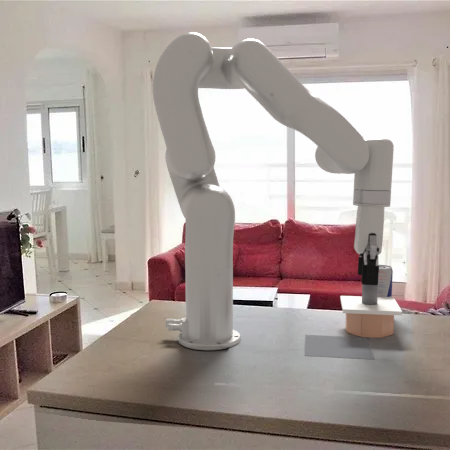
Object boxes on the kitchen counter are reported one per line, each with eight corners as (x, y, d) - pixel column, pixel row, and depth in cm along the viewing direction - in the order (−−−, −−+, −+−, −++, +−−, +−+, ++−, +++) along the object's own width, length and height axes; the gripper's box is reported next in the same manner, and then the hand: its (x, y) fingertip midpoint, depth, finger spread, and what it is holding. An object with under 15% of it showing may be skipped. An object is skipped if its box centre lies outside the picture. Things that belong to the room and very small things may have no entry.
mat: (304, 357, 103) (304, 355, 103) (305, 336, 115) (305, 334, 115) (374, 361, 101) (374, 359, 101) (367, 339, 113) (367, 337, 113)
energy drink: (393, 316, 130) (395, 265, 129) (387, 321, 126) (388, 269, 124) (371, 312, 133) (372, 263, 132) (364, 318, 128) (365, 267, 127)
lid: (342, 313, 113) (343, 285, 112) (340, 299, 124) (340, 273, 123) (402, 315, 111) (403, 287, 110) (393, 301, 122) (394, 275, 122)
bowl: (347, 337, 114) (347, 311, 113) (344, 324, 124) (345, 300, 123) (395, 340, 113) (396, 313, 112) (389, 326, 122) (389, 302, 121)
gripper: (350, 195, 124) (346, 271, 126) (356, 200, 107) (351, 287, 109) (385, 197, 123) (380, 273, 125) (396, 202, 106) (391, 289, 108)
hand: (367, 279), depth 117 cm, fingers open, 9 cm apart
